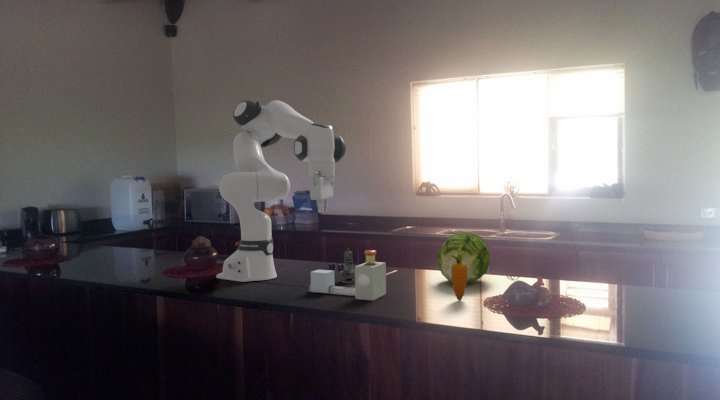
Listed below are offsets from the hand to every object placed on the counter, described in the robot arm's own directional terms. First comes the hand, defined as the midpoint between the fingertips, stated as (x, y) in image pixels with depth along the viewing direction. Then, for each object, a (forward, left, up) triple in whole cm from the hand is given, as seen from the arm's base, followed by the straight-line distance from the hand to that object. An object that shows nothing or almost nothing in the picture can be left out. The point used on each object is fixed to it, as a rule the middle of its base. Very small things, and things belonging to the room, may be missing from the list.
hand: (322, 212), depth 202 cm
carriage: (+5, -10, -25) cm, 27 cm away
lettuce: (+43, +20, -25) cm, 54 cm away
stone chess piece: (+5, +9, -25) cm, 27 cm away
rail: (+10, -10, -25) cm, 29 cm away
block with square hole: (+22, -10, -25) cm, 35 cm away
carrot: (+49, -6, -25) cm, 56 cm away
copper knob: (+22, -10, -16) cm, 29 cm away
